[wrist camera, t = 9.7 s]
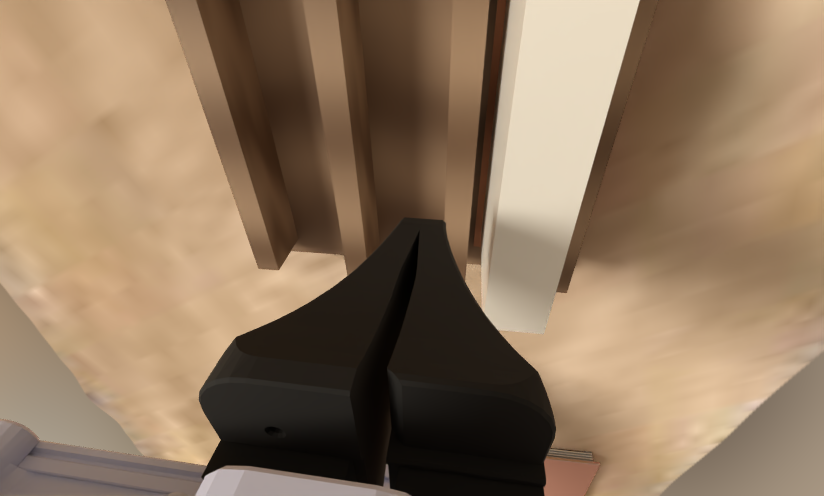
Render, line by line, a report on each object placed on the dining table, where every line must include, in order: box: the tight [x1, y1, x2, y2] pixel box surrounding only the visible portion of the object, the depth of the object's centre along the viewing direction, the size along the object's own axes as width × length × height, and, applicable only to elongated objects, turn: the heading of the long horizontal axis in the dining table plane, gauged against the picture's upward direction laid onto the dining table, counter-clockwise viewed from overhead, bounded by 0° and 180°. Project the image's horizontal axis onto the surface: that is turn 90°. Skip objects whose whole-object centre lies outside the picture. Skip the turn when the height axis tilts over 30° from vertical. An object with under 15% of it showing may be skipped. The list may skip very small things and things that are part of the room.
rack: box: [165, 0, 658, 293], centre depth 18 cm, size 17×18×4 cm
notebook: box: [544, 449, 600, 496], centre depth 43 cm, size 27×17×2 cm, turn 94°
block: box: [481, 0, 640, 334], centre depth 15 cm, size 12×2×7 cm, turn 1°
